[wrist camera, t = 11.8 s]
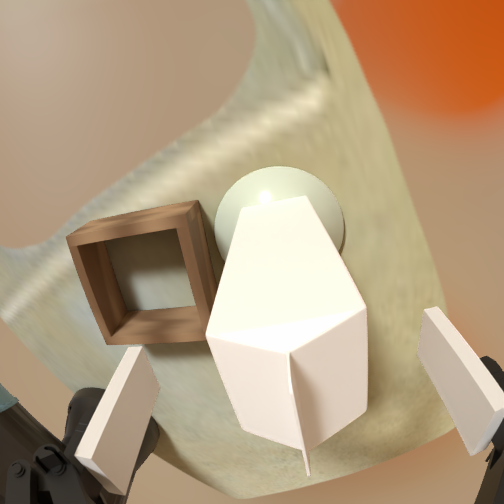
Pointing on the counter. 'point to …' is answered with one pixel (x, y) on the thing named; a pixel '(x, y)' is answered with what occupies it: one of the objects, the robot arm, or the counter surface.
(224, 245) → the cream glossy dome
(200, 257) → the sleeve
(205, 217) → the counter surface
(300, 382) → the milk
